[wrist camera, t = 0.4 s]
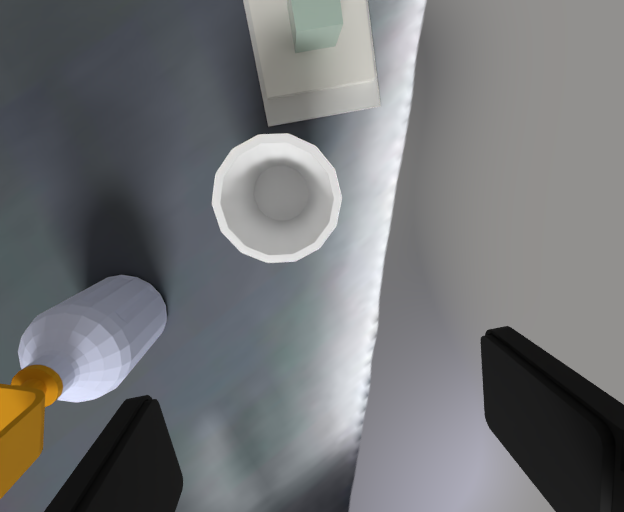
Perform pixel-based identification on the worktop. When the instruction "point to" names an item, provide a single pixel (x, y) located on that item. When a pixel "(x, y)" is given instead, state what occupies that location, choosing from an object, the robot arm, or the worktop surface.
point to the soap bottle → (74, 360)
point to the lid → (312, 44)
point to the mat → (315, 93)
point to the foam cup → (276, 198)
